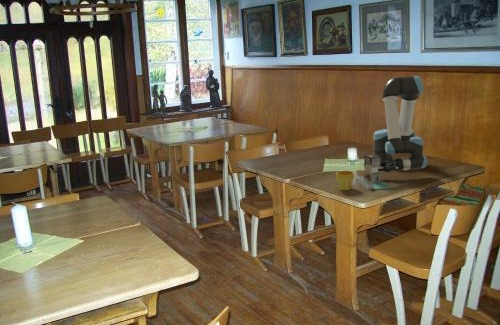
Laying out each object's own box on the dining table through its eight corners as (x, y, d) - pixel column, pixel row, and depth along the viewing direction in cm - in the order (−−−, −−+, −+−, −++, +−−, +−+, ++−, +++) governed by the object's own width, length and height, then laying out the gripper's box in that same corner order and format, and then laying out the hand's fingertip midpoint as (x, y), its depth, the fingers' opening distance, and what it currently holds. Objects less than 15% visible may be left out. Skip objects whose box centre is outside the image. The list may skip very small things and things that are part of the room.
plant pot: (334, 187, 301) (334, 171, 298) (351, 185, 301) (351, 169, 299) (339, 192, 290) (338, 175, 288) (356, 190, 291) (356, 174, 289)
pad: (383, 182, 303) (383, 181, 303) (391, 188, 291) (391, 187, 291) (367, 184, 302) (367, 183, 301) (375, 189, 290) (375, 189, 290)
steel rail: (361, 180, 310) (361, 175, 309) (373, 189, 291) (373, 184, 290) (356, 181, 310) (356, 176, 309) (368, 190, 290) (368, 184, 290)
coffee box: (363, 180, 310) (363, 154, 307) (373, 178, 312) (372, 153, 308) (371, 184, 302) (371, 157, 298) (381, 182, 303) (380, 156, 300)
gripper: (410, 175, 296) (376, 178, 293) (392, 165, 320) (360, 168, 317) (410, 162, 294) (376, 166, 291) (392, 153, 318) (360, 157, 315)
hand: (368, 167), depth 304 cm, fingers open, 13 cm apart
